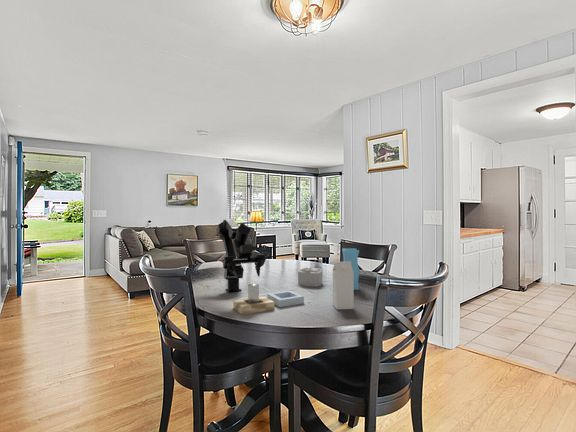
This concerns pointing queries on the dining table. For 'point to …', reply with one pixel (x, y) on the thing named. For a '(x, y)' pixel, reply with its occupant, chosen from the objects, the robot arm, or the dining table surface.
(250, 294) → the steel axle
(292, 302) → the seat block
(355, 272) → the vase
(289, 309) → the dining table surface
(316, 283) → the lumpy-topped squat cylinder
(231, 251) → the robot arm
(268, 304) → the tan rectangular frame
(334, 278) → the milk carton
